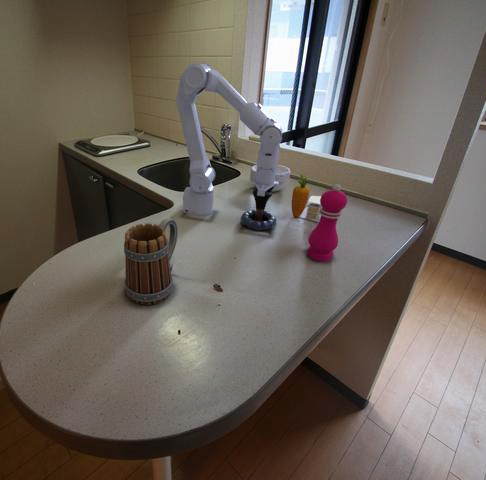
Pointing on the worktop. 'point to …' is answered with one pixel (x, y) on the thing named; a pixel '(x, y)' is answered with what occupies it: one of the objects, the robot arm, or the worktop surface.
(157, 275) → the mug
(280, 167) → the paper bowls
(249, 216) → the ring
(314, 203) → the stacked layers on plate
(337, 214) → the pepper mill
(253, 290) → the worktop surface
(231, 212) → the worktop surface
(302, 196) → the carrot
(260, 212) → the post
